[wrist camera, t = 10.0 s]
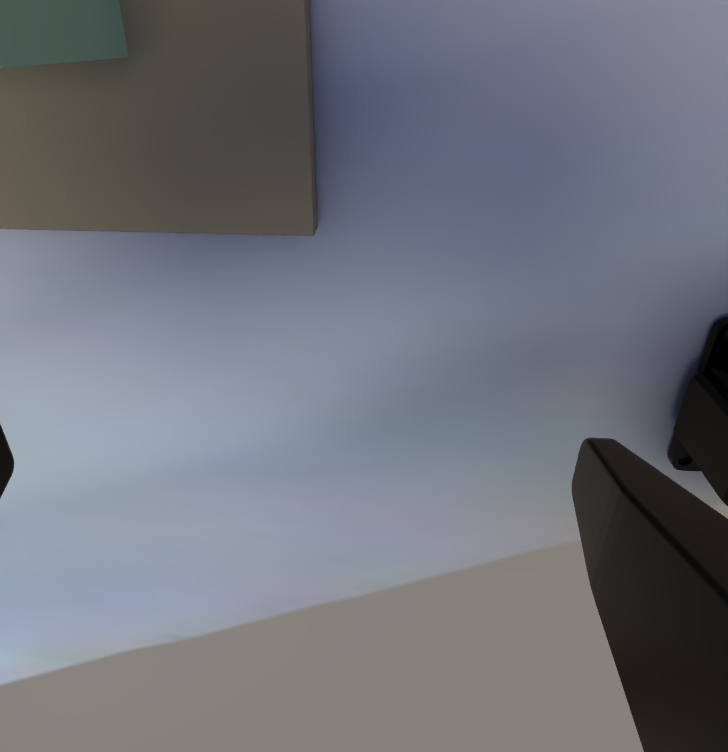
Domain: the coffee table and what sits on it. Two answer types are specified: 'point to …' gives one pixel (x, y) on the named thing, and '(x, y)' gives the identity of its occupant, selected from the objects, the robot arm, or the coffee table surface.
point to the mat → (169, 126)
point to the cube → (60, 31)
